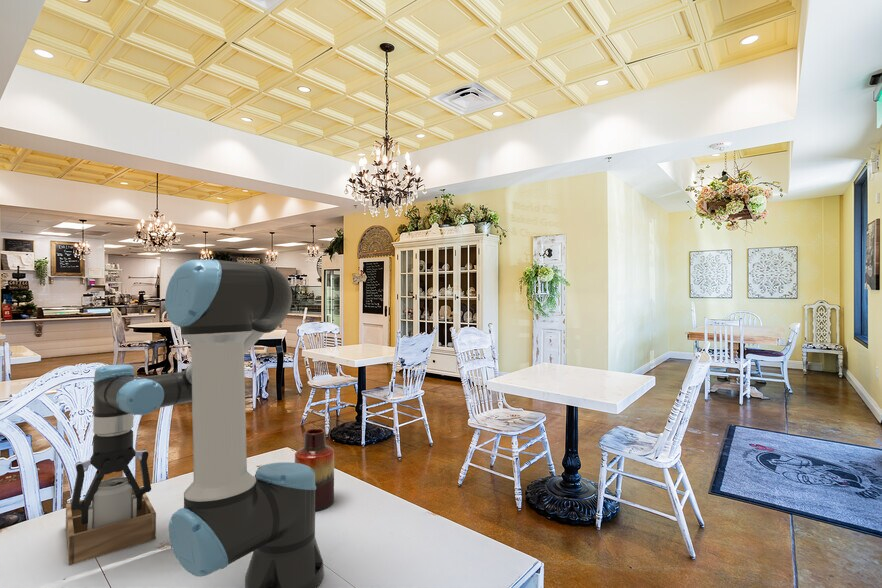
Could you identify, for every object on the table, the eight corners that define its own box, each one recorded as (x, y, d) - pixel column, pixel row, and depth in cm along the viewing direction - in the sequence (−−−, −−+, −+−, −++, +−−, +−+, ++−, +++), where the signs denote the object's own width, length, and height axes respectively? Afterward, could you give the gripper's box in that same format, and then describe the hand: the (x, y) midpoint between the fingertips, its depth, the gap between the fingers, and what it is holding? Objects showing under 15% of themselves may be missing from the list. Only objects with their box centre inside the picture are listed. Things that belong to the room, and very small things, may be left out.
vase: (324, 513, 118) (324, 437, 118) (286, 510, 120) (287, 435, 120) (339, 496, 128) (340, 426, 129) (305, 493, 130) (305, 424, 130)
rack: (155, 543, 103) (155, 513, 103) (68, 570, 93) (69, 536, 93) (141, 511, 118) (141, 485, 119) (65, 532, 108) (66, 503, 108)
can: (110, 543, 98) (111, 489, 98) (82, 539, 99) (83, 486, 99) (139, 526, 105) (140, 476, 105) (113, 523, 107) (114, 473, 107)
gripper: (161, 420, 112) (160, 510, 112) (55, 436, 98) (53, 539, 98) (167, 426, 106) (166, 521, 106) (55, 445, 93) (54, 553, 92)
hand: (112, 530), depth 102 cm, fingers closed on can, 7 cm apart
